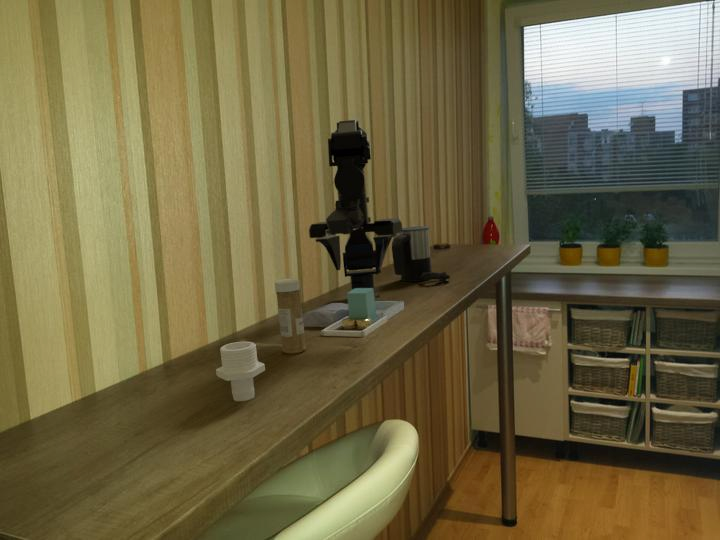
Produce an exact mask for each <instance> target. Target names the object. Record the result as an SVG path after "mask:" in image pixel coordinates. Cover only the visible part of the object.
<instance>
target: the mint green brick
mask: <svg viewBox="0 0 720 540" xmlns="http://www.w3.org/2000/svg"><path fill="white" fill-rule="evenodd" d="M374 293H375V289H374V290H373V288H355V289H353V290H352V289H350V290H349V291H348V292H346V297H347V298H346V300H347V304H348V308H349V317H350V318H357V319H360V318H371V325H372V324H374V323H375V322H377V321H376V320H377V318H376V309H375V301H376V300H375V297H374Z"/></svg>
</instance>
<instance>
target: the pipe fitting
mask: <svg viewBox="0 0 720 540" xmlns="http://www.w3.org/2000/svg"><path fill="white" fill-rule="evenodd" d="M256 346H257V345H256V344H255V342H252V341H237V342H235V341H233V342H231V343H227V344H224V345H222V346H221V347H220V349H219V351H220V356H221V357H220V359H221V365H222V366H220V367H218V368H216V369H215V372H216V377H218V378H220V379H222V380H224V381H226V382H227V381H228V382H229V381H230V386H231V394H232V398H233V400H234V401H235V402H247V401H249V400H252V399H254V398H255V387H254V377H256V376H258V375H259V374H261V373H263V372H265V371H266V366H265V363H263V362H261V361H259V360H258V356H257V355H258V353H257V352H258V351H257V347H256Z"/></svg>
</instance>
